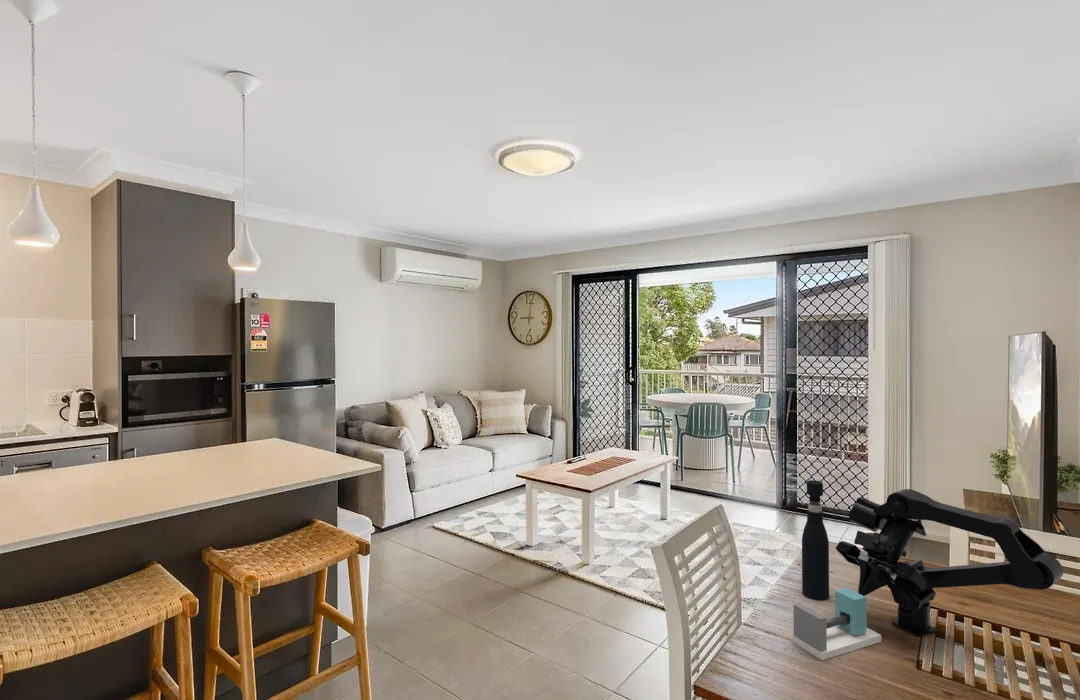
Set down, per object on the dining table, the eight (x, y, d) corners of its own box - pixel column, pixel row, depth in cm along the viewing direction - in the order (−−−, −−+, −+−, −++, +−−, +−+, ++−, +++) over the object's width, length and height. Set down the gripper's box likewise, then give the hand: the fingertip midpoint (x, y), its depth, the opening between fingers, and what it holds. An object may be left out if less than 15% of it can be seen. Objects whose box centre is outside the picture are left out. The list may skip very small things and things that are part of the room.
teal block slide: (848, 624, 128) (848, 588, 128) (881, 641, 121) (881, 603, 121) (791, 641, 121) (791, 603, 121) (822, 660, 114) (821, 620, 114)
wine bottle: (834, 600, 140) (833, 485, 140) (809, 600, 140) (808, 485, 140) (821, 589, 146) (820, 478, 146) (797, 589, 147) (796, 479, 146)
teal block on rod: (846, 621, 126) (846, 587, 126) (866, 632, 121) (866, 597, 121) (835, 624, 124) (835, 590, 124) (855, 635, 120) (854, 600, 120)
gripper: (840, 508, 135) (807, 559, 131) (916, 530, 117) (881, 591, 113) (863, 535, 137) (832, 586, 133) (940, 561, 120) (907, 621, 116)
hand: (860, 594), depth 124 cm, fingers closed
